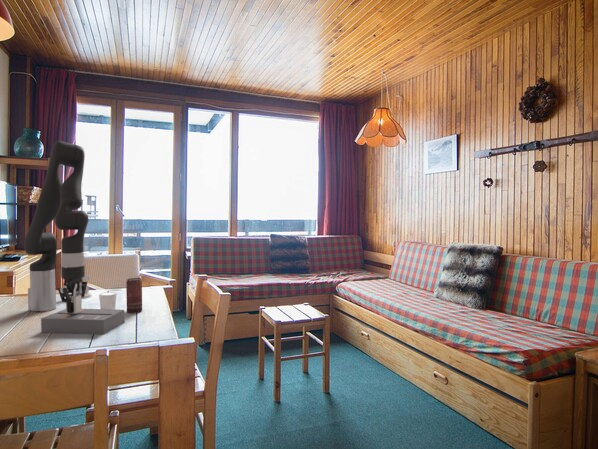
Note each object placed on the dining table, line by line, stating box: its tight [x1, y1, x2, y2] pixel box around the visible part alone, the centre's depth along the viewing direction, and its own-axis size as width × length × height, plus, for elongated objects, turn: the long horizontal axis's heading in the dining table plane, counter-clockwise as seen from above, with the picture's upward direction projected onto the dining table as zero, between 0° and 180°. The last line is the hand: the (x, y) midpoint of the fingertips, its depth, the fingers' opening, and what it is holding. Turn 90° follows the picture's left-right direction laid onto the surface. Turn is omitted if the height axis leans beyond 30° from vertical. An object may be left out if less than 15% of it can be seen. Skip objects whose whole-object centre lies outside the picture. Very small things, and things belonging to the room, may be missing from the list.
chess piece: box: [76, 273, 93, 300], centre depth 194 cm, size 10×10×15 cm
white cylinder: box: [98, 291, 117, 310], centre depth 170 cm, size 7×7×7 cm
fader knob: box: [65, 295, 83, 314], centre depth 145 cm, size 4×3×8 cm
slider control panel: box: [40, 308, 125, 335], centre depth 145 cm, size 23×14×5 cm, turn 86°
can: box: [125, 277, 143, 314], centre depth 167 cm, size 6×6×14 cm
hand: (73, 311), depth 145 cm, fingers closed on fader knob, 3 cm apart
